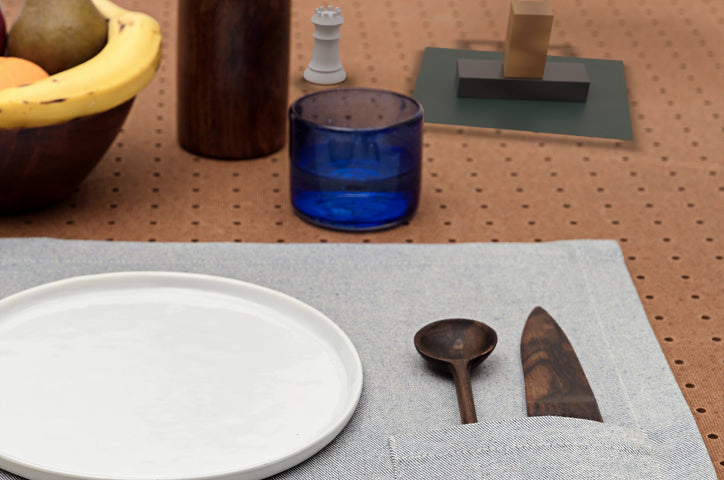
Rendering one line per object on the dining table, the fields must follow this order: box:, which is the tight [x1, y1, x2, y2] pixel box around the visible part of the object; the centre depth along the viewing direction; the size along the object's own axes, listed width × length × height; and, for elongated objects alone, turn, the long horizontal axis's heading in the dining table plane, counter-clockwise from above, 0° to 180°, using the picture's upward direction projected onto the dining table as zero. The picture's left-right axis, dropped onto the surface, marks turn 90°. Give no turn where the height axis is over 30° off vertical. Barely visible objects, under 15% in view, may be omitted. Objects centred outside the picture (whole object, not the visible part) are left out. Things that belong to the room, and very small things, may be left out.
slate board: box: [411, 46, 634, 142], centre depth 105 cm, size 20×20×1 cm
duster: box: [455, 0, 590, 102], centre depth 102 cm, size 12×5×8 cm, turn 81°
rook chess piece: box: [302, 5, 347, 86], centre depth 106 cm, size 4×4×8 cm
